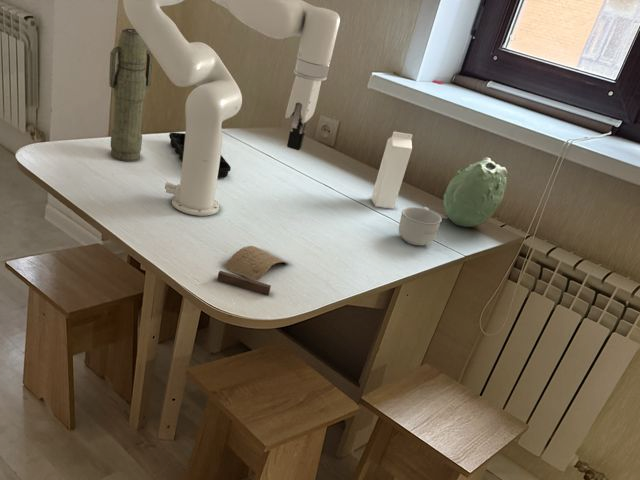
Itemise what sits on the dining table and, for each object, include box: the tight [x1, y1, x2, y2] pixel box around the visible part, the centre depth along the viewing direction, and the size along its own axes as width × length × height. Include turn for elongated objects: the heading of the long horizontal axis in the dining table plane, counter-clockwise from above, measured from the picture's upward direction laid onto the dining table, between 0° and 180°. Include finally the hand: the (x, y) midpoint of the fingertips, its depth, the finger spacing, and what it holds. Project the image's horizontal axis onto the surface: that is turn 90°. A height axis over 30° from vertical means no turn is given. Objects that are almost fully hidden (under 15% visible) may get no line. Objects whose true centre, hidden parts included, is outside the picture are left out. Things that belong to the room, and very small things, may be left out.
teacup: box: [398, 206, 443, 247], centre depth 188 cm, size 14×11×8 cm
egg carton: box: [168, 132, 232, 179], centre depth 209 cm, size 18×30×4 cm, turn 32°
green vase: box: [442, 156, 508, 228], centre depth 200 cm, size 16×19×20 cm
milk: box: [370, 131, 413, 210], centre depth 202 cm, size 6×6×22 cm
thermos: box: [108, 28, 154, 163], centre depth 193 cm, size 9×12×35 cm
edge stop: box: [216, 270, 272, 296], centre depth 151 cm, size 12×1×2 cm, turn 75°
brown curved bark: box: [224, 245, 289, 281], centre depth 160 cm, size 14×10×3 cm
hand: (293, 147), depth 163 cm, fingers closed
